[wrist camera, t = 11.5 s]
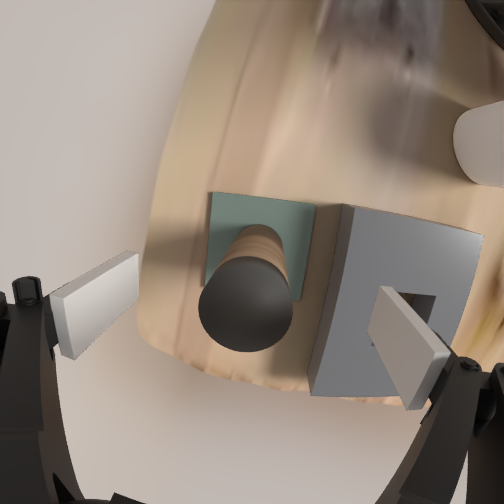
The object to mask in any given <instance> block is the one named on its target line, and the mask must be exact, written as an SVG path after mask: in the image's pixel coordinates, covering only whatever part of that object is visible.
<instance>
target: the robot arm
mask: <svg viewBox="0 0 504 504" xmlns="http://www.w3.org/2000/svg"><path fill="white" fill-rule="evenodd" d="M466 2H467V4H468V5H469V7H470V9H471V10H472V12H473V13H474V15H475V16H476V18H477V19H478V21H479V22H480V23H481V24H482V26H483V27H484V28H485V30H486V31H487V32H488V33H489V34H490V35H491V37H492V38H493V39H494V40H495V41H496V42H497V43H498V44H499V45H500V46H501V47H502V48H503V49H504V0H466ZM138 256H139V253H138V252H131V251H125V252H124V253H122V254H120V255H118V256H116V257H114V258H112V259H110V260H109V261H107V262H105V263H103V264H101V265H100V266H98V267H96V268H94V269H92V270H91V271H89V272H87V273H85V274H83V275H82V276H80V277H78V278H76V279H75V280H73V281H71V282H69V283H67V284H65V285H63V286H62V287H60V288H58V289H57V290H55V291H53V292H52V293H50V294H48V295H47V296H45V297H43V295H42V289H41V281H40V279H39V278H37V277H33V276H27V277H21V278H18V279H16V280H15V281H13V283H12V287H13V293H14V298H15V304H8V303H7V301H6V296H5V293H3V292H0V504H145V503H141V502H139V501H136V500H133V499H130V498H127V497H125V496H122V495H119V494H117V493H114V494H113V496H112V499H111V500H110V501H108V500H99V499H85V498H84V496H83V494H82V493H81V491H80V489H79V486H78V483H77V480H76V476H75V473H74V470H73V466H72V462H71V458H70V454H69V450H68V445H67V441H66V436H65V431H64V426H63V420H62V414H61V408H60V401H59V395H58V385H57V375H56V363H55V353H54V349H53V347H54V346H55V345H56V344H58V343H59V347H60V351H61V355H63V356H66V357H68V358H70V359H73V360H76V359H77V358H78V357H79V356H80V355H81V354H82V353H83V352H84V351H85V350H86V349H87V348H88V347H89V346H90V345H91V344H92V343H93V342H94V341H95V340H96V339H97V338H98V337H99V336H100V335H101V334H102V333H103V332H104V331H105V330H106V329H107V328H108V327H109V326H110V325H111V324H113V323H114V322H115V321H116V320H117V319H118V318H119V317H120V316H121V315H122V314H123V313H124V312H125V311H126V310H127V309H128V308H129V307H131V306H132V305H133V304H134V303H135V302H136V301H137V300H138V299H139V270H138V269H139V267H138V266H139V265H138V264H139V262H138V261H139V259H138V258H139V257H138ZM367 332H368V334H369V336H370V338H371V339H372V341H373V343H374V345H375V347H376V349H377V351H378V353H379V355H380V357H381V359H382V361H383V363H384V365H385V367H386V369H387V371H388V373H389V375H390V377H391V379H392V381H393V383H394V385H395V387H396V389H397V391H398V394H399V396H400V398H401V400H402V402H403V404H404V406H405V408H406V410H418V409H422V408H423V406H424V404H425V403H426V401H427V399H428V397H429V399H430V401H431V403H432V405H431V406H430V408H429V410H428V411H427V413H426V415H425V416H424V418H423V420H422V421H421V423H420V424H421V427H420V429H419V431H418V433H417V435H416V437H415V439H414V441H413V443H412V445H411V447H410V449H409V450H408V452H407V454H406V456H405V457H404V459H403V461H402V463H401V464H400V466H399V468H398V469H397V471H396V473H395V474H394V476H393V478H392V479H391V481H390V482H389V484H388V485H387V487H386V488H385V490H384V491H383V493H382V494H381V496H380V497H379V499H378V500H377V502H376V503H375V504H450V502H451V499H452V497H453V494H454V491H455V489H456V486H457V483H458V480H459V477H460V474H461V471H462V468H463V465H464V461H465V458H466V454H467V451H468V477H467V494H466V504H504V363H497V364H496V365H495V366H494V368H493V370H492V372H491V373H489V372H482V369H481V366H480V365H479V364H478V363H477V362H476V361H475V360H473V359H471V358H468V357H458V356H457V355H456V354H455V353H454V351H453V350H452V349H451V348H450V347H449V346H448V345H447V343H446V342H445V341H444V340H443V339H442V338H441V336H440V335H439V334H438V333H436V332H435V331H433V330H432V329H430V328H429V327H428V325H427V324H426V323H425V322H424V321H423V320H422V319H421V318H420V317H419V315H418V314H417V313H416V312H415V311H414V310H413V309H412V308H411V307H410V306H409V305H408V303H407V302H406V301H405V300H404V299H403V298H402V297H401V296H400V295H399V294H398V293H397V292H396V291H395V290H394V289H393V288H392V287H387V286H380V287H379V290H378V294H377V298H376V302H375V305H374V309H373V312H372V316H371V319H370V322H369V326H368V329H367Z"/></svg>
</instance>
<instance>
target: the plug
mask: <svg viewBox="0 0 504 504" xmlns="http://www.w3.org/2000/svg"><path fill="white" fill-rule="evenodd" d="M198 310H199V317H200V320H201V323H202V325H203V327H204V329H205V330H206V332H207V333H208V334H209V336H210V337H211V338H212V339H213V340H215V341H216V342H217V343H219V344H220V345H222V346H224V347H226V348H228V349H231V350H234V351H239V352H255V351H260V350H264V349H266V348H269V347H271V346H272V345H274V344H275V343H277V342H278V341H279V340H280V339H281V338H282V337H283V336H284V335H285V334H286V332H287V330H288V329H289V326H290V324H291V320H292V314H293V312H292V302H291V295H290V288H289V282H288V275H287V269H286V262H285V256H284V250H283V244H282V240H281V238H280V236H279V235H278V233H277V232H276V231H275V230H274V229H272V228H271V227H269V226H266V225H262V224H254V225H250V226H247V227H245V228H244V229H242V230H241V231H240V232H239V234H238V235H237V236H236V238H235V240H234V241H233V243H232V244H231V246H230V247H229V249H228V251H227V252H226V254H225V255H224V257H223V259H222V260H221V262H220V263H219V265H218V267H217V268H216V270H215V271H214V273H213V275H212V276H211V278H210V279H209V281H208V283H207V284H206V286H205V287H204V289H203V291H202V293H201V295H200V299H199V305H198Z"/></svg>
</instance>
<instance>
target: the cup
mask: <svg viewBox="0 0 504 504" xmlns="http://www.w3.org/2000/svg"><path fill="white" fill-rule="evenodd" d="M453 145H454V151H455V155H456V158H457V160H458V163H459V165H460V167H461V168H462V170H463V171H464V173H465V174H466V175H467V176H468V177H469V178H470V179H471V180H472V181H474V182H475V183H478V184H480V185H484V186H492V187H501V188H504V101H500V102H496V103H492V104H489V105H485V106H481V107H478V108H474V109H471V110H468V111H466V112H464V113H463V114H462V115H461V116H460V117H459V118H458V120H457V122H456V124H455V128H454V133H453Z"/></svg>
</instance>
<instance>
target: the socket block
mask: <svg viewBox="0 0 504 504" xmlns="http://www.w3.org/2000/svg"><path fill="white" fill-rule="evenodd" d="M483 237H484V235H481V234H478V233H475V232H472V231H469V230H466V229H463V228H459V227H455V226H451V225H447V224H443V223H438V222H434V221H430V220H425V219H421V218H416V217H411V216H407V215H402V214H397V213H392V212H387V211H382V210H377V209H371V208H366V207H360V206H355V205H349V204H343V206H342V212H341V219H340V225H339V231H338V237H337V242H336V248H335V253H334V259H333V264H332V269H331V274H330V279H329V284H328V289H327V293H326V298H325V302H324V307H323V311H322V316H321V320H320V324H319V328H318V332H317V336H316V340H315V344H314V348H313V352H312V356H311V360H310V363H309V367H308V371H307V375H308V381H309V388H310V394H311V396H326V397H387V396H399V394H398V391H397V389H396V387H395V385H394V383H393V381H392V379H391V377H390V375H389V373H388V371H387V369H386V367H385V365H384V363H383V361H382V359H381V357H380V355H379V353H378V351H377V349H376V347H375V345H374V343H373V341H372V339H371V338H370V336H369V334H368V332H367V329H368V326H369V322H370V319H371V316H372V312H373V309H374V305H375V302H376V298H377V294H378V290H379V287H380V286H387V287H392V288H393V289H394V290H395V291H396V292H402V293H412V294H415V295H414V298H413V302H412V305H411V308H412V309H413V310H414V311H415V312H416V313H417V314H418V315H419V317H420V318H421V319H422V320H423V321H424V322H425V323H426V324H427V325H428V327H429V328H430V329H432V330H433V331H435V332H436V333H438V334H439V335H440V336H441V338H442V339H443V340H444V341H445V342H446V343H447V345H448V346H449V347H450V346H451V343H452V341H453V338H454V336H455V333H456V331H457V328H458V325H459V323H460V320H461V317H462V314H463V311H464V308H465V306H466V302H467V299H468V296H469V293H470V290H471V286H472V283H473V279H474V276H475V272H476V268H477V264H478V260H479V256H480V252H481V247H482V242H483Z"/></svg>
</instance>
